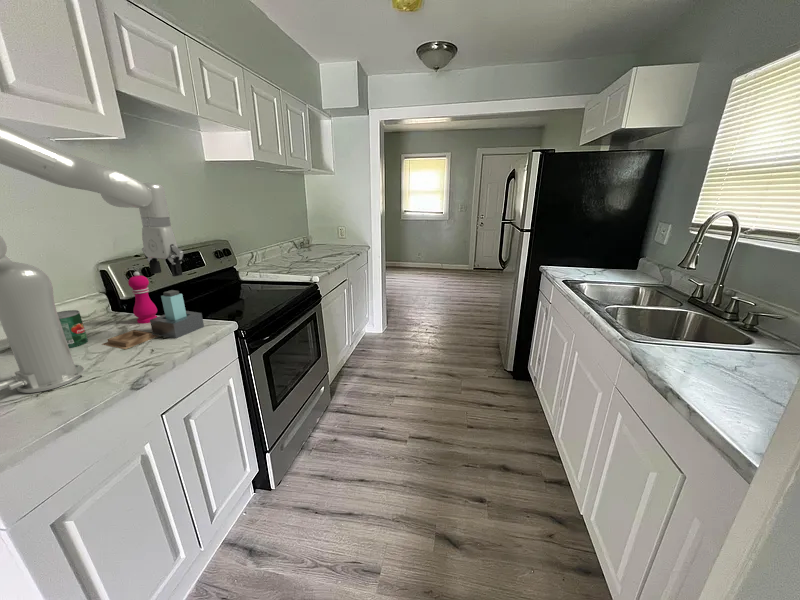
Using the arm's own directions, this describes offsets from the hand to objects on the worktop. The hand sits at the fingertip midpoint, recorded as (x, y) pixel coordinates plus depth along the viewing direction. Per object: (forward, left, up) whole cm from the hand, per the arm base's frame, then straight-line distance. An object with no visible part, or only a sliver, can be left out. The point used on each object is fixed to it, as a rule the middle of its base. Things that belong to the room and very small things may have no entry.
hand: (166, 274), depth 111 cm
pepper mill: (+3, +20, -22) cm, 30 cm away
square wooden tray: (-11, +7, -21) cm, 25 cm away
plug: (0, 0, -17) cm, 17 cm away
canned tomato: (-20, +22, -22) cm, 37 cm away
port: (0, 0, -21) cm, 21 cm away
